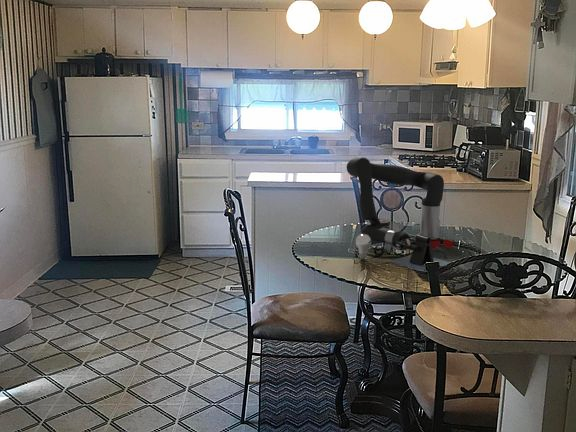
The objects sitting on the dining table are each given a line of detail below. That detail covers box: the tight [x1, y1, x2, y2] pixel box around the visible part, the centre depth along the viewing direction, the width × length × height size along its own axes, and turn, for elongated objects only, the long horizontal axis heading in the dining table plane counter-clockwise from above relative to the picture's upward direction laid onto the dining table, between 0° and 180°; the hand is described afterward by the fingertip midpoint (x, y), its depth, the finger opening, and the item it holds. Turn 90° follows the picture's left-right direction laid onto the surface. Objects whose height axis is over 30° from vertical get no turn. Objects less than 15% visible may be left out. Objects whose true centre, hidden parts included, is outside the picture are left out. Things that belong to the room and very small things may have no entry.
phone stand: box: [409, 234, 434, 266], centre depth 262 cm, size 9×6×12 cm, turn 125°
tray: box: [389, 255, 450, 271], centre depth 264 cm, size 20×20×1 cm
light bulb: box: [355, 234, 372, 261], centre depth 267 cm, size 7×7×12 cm
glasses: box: [430, 238, 473, 260], centre depth 280 cm, size 14×16×5 cm
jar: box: [378, 218, 391, 229], centre depth 310 cm, size 10×10×8 cm
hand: (424, 247), depth 262 cm, fingers open, 8 cm apart
